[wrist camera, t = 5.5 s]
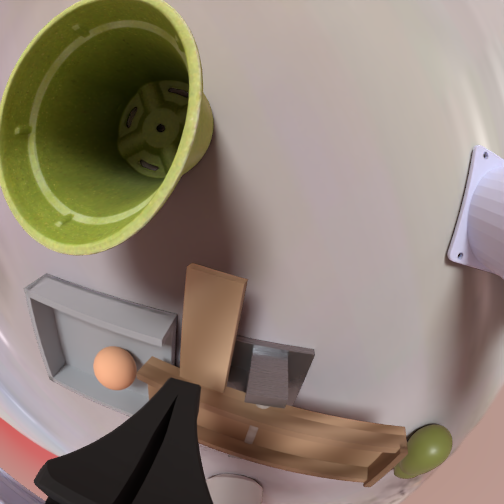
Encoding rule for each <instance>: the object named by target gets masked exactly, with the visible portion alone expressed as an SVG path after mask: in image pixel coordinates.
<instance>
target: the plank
mask: <svg viewBox="0 0 504 504" xmlns="http://www.w3.org/2000/svg"><path fill="white" fill-rule="evenodd" d="M247 281H248V279H244V278H241V277H238V276H234V275H231V274H227V273H224V272H221V271H217V270H214V269H211V268H208V267H204V266H201V265H198V264H194V263H191V264H190V265H189V266H187V271H186V281H185V293H184V305H183V319H182V334H181V352H180V368H178V367H176V366H174V365H171V364H169V363H167V362H164V361H162V360H160V359H158V358H156V357H153V356H152V357H151V358H150V359H149V360H148V361H147V362H146V363H145V364H144V365H143V366H142V367H141V368H140V369H139V370H138V371H137V373H136V374H137V379H138V380H140V381H142V382H144V383H146V384H148V394H149V400H150V399H151V398H152V397H153V396H154V395H155V394H156V393H157V392H158V391H159V389H160V388H161V387H162V386H163V385H164V384H165V382H166V381H167V380H168V378H171V377H172V378H175V379H179V380H182V381H186V382H190V383H194V384H198V385H200V386H201V394H200V405H199V413H198V418H197V434H198V443H200V444H202V445H205V446H208V447H210V448H213V449H216V450H218V451H221V452H224V453H227V454H230V455H233V456H236V457H239V458H242V459H245V460H249V461H252V462H255V463H259V464H263V465H266V466H270V467H274V468H278V469H282V470H286V471H291V472H296V473H300V474H305V475H311V476H316V477H322V478H329V479H336V480H344V481H353V482H363V483H364V484H363V487H371V486H372V485H374V484H375V483H376V482H377V481H378V480H380V479H381V478H382V477H383V476H384V475H386V474H387V473H388V472H389V471H390V470H391V469H392V468H393V467H395V466H396V465H397V464H398V463H399V462H400V461H401V460H402V459H403V458H404V457H405V456H406V455H407V454H408V448H407V439H406V431H405V427H401V426H392V425H384V424H377V423H370V422H364V421H358V420H352V419H346V418H341V417H336V416H331V415H326V414H322V413H317V412H313V411H309V410H305V409H301V408H297V407H293V406H289V405H286V407H285V409H284V408H277V407H270V406H264V405H258V404H252V403H246V402H244V400H245V392H242V391H239V390H236V389H233V388H230V387H227V381H228V376H229V371H230V366H231V361H232V356H233V351H234V346H235V341H236V336H237V331H238V326H239V321H240V316H241V311H242V306H243V301H244V296H245V291H246V286H247Z"/></svg>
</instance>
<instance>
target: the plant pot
mask: <svg viewBox="0 0 504 504" xmlns="http://www.w3.org/2000/svg"><path fill="white" fill-rule="evenodd" d="M172 87H173V88H176V89H183V90H185V91H186V92H188V93H189V94H188V97H186V98H185V97H183V96H181V95H179V94H176V93H172V92H169V91H168V89H170V88H172ZM135 107H137V111H136V114H135V115H134V117H133V119H132V123H131V126H130V127H129V128H127V119H128V116H129V114H130V112H131V111H132V110H133V108H135ZM159 124H162V125H164V126H165V130H164V131H163V132H158V131H157V130H156V128H157V126H158V125H159ZM212 133H213V115H212V111H211V107H210V104H209V102H208V100H207V98H206V96H205V95H204V93H203V76H202V67H201V60H200V56H199V52H198V48H197V45H196V42H195V40H194V37H193V35H192V33H191V31H190V29H189V27H188V26H187V24H186V22H185V21H184V20H183V18H182V17H181V16H180V15H179V14H178V13H177V11H176V10H175V9H174V8H172V7H171V6H170V5H169V4H167V3H166V2H164V1H163V0H81V1H79V2H77V3H75V4H73V5H72V6H70V7H69V8H67V9H66V10H64V11H63V12H61V13H60V14H59V15H57V16H56V17H54V18H53V19H52V20H51V21H50V22H49V23H48V24H47V25H46V26H44V27H43V28H42V30H41V31H40V32H39V33H38V34H37V35H36V36H35V37H34V38H33V40H32V41H31V42H30V43H29V45H28V46H27V48H26V49H25V50H24V52H23V53H22V55H21V57H20V58H19V60H18V62H17V64H16V65H15V67H14V69H13V71H12V73H11V75H10V77H9V80H8V82H7V85H6V88H5V91H4V93H3V96H2V100H1V104H0V186H1V188H2V192H3V194H4V197H5V200H6V202H7V204H8V206H9V208H10V210H11V212H12V213H13V215H14V217H15V218H16V220H17V221H18V222H19V224H20V225H21V226H22V228H23V229H24V230H25V231H26V232H27V234H29V235H30V236H31V237H32V238H33V239H34V240H36V241H37V242H39V243H40V244H42V245H43V246H45V247H46V248H48V249H51V250H53V251H56V252H59V253H63V254H69V255H91V254H96V253H99V252H102V251H106V250H108V249H110V248H113V247H115V246H117V245H119V244H121V243H123V242H124V241H126V240H128V239H129V238H130V237H132V236H133V235H135V234H136V233H137V232H138V231H140V230H141V229H142V228H143V227H144V226H145V225H146V224H147V223H148V222H149V221H150V220H151V219H152V218H153V217H154V216H155V215H156V214H157V213H158V211H159V210H160V209H161V208H162V206H163V205H164V204H165V202H166V201H167V199H168V198H169V196H170V195H171V193H172V192H173V190H174V189H175V187H176V185H177V183H178V182H179V180H180V178H181V176H182V175H183V174H185V173H186V172H188V171H189V170H190V169H192V168H193V167H194V166H195V165H196V164H197V163H198V162H199V161H200V160H201V158H202V157H203V155H204V154H205V152H206V151H207V149H208V147H209V144H210V142H211V138H212ZM140 160H144V161H146V162H147V163H149V164H151V165H155V166H158V168H159V169H157V170H156V171H154V170H150V169H147V168H144V167H143V166H142V165H141V164H140Z"/></svg>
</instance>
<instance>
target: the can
mask: <svg viewBox="0 0 504 504" xmlns="http://www.w3.org/2000/svg"><path fill="white" fill-rule="evenodd" d="M206 482H207V486H208V489H209V492H210V496H211V498H212V501H213V504H262V493H263V488H262V487H261V486H260V485H259V484H257V482H256V481H255V480H253V479H251V478H248V477H245V476H241V475H235V474H219V475H215V476H214V477H212V478H210V479H208V480H206Z"/></svg>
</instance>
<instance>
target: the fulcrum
mask: <svg viewBox="0 0 504 504" xmlns="http://www.w3.org/2000/svg"><path fill="white" fill-rule="evenodd" d="M314 355H315V353H314V349H308V348H302V347H295V346H289V345H284V344H278V343H272V342H267V341H261V340H256V339H251V338H246V337H241V336H236V341H235V346H234V351H233V356H232V361H231V366H230V371H229V376H228V381H227V387H230V388H233V389H236V390H239V391H242V392H245V400H244V402H246V403H252V404H258V405H264V406H270V407H277V408H284V409H285V407H286V405H289V406H293V404H294V401H295V399H296V397H297V395H298V393H299V390H300V388H301V386H302V384H303V381H304V379H305V377H306V374H307V372H308V370H309V367H310V365H311V362H312V360H313V358H314ZM228 456H229V457H234V458H239V457H236V456H233V455H230V454H229V455H228ZM240 459H242V458H240Z"/></svg>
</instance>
